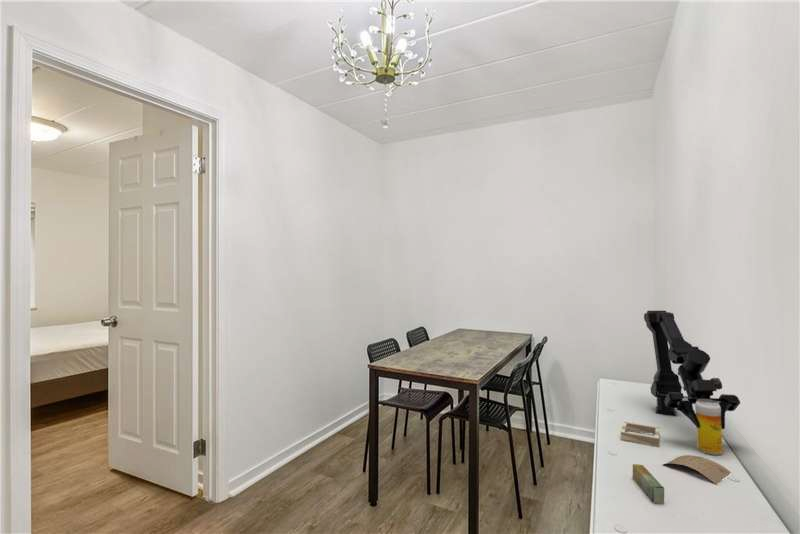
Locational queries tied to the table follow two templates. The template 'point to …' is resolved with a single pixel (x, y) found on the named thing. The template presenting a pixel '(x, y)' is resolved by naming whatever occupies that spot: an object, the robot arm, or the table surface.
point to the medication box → (648, 484)
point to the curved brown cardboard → (703, 467)
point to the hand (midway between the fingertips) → (711, 428)
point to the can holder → (640, 438)
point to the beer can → (709, 426)
